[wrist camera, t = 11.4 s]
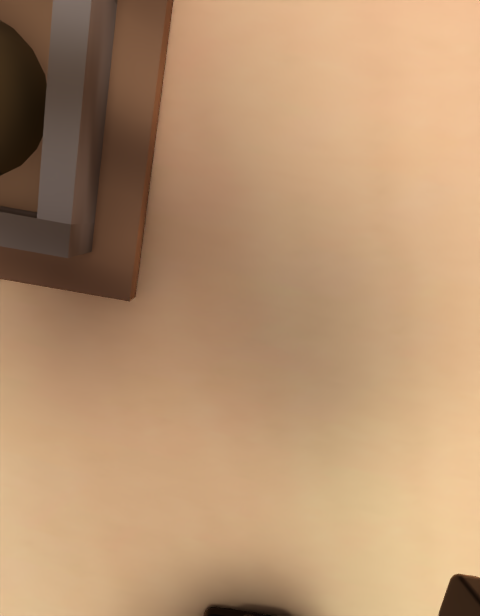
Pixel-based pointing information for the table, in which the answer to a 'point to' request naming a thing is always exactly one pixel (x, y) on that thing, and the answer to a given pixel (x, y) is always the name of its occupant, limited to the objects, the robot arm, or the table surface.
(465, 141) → the table surface
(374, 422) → the table surface
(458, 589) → the robot arm
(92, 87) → the shaker holder
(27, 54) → the cork
